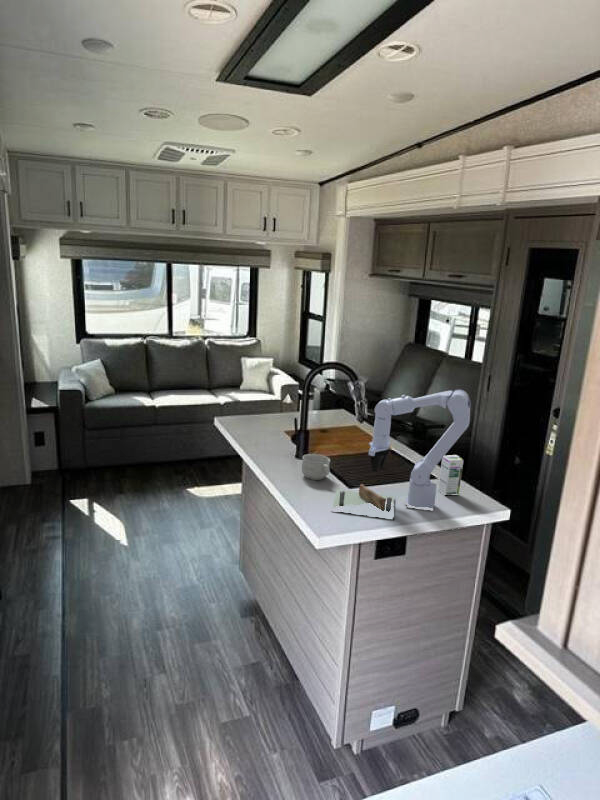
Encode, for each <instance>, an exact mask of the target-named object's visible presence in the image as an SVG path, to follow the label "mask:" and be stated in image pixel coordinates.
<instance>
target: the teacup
mask: <svg viewBox="0 0 600 800" xmlns="http://www.w3.org/2000/svg"><path fill="white" fill-rule="evenodd" d="M301 460H302V461H301V472H302V474H303V475H304V476H305V477H306V479H310V480H314V481H320V480H323V479H324V478H326V477H327V476H328V475H329V474H330V471H331V470H330V469H331V468H330V464H331V458H329V457H328V456H326V455H322V454H316V453H308V454H304V455H302V459H301Z"/></svg>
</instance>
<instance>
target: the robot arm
mask: <svg viewBox="0 0 600 800" xmlns="http://www.w3.org/2000/svg"><path fill="white" fill-rule="evenodd" d="M430 406H440V407H442V408H444V409H446V408H448V410H449V412H450V413H451V414H452V419H453V422H452V423H451V425H449V427H448V428H447V430H445V432H444V433H443V434H442V436H441V437H440V438H439V439H438V440H437V441H436V443H435V444H434V445H433V447H432V448H431V449H430V450H429V451H428V453H427V454H426V455H425V456H424V457H423V458H422V459H420V460H418V461H417V462H415V464H414V467H413V469H412V470H411V472H410V477H409V483H408V490H407V491H408V493H407V497H406V498H405V501H406V500H407V503H408V504H409V505H411V506H415V507H429V508H435V504H436V503H435V502H436V494H437V484H436V483H434V482H432V481H431V479H430V477H431V474H432V473H433V471H434V470H435V468H436V467H437V465H439V463H440V462H441V461H442V458H443V456H444V455H445V456H446V454H447V453H448V452H449V450H450V449H451V448H452V447H453V446H454V445H455V443H456V442H457V441H458V439H460V437H461V436H462V435H463V434H464V432H465V431H466V430H467V429H468V428H469V426H470V422H471V421H470V419H471V400H470V397H469V394H468V393H467V391H465V390H462V389H456V390H455V389H454V391H453V390H445V391H441V392H440V391H439V392H435V393H433V394H427V395H423V396H418V397H415V398H413V397H412V396H410V395H406V394H402V395H401V397H395V398H392V397H389V398H387V399H382V400H380V401H379V402H378V403H377V404H376V405H375V407H374V414H375V417H374V419H375V420H374V423H373V424H374V425H373V433H372V441H370V442H369V443H368V446H370V448H369V450H368V451H367V456H368V458H369V461H370V467H371V468H370V469H371V471H372V472H375V473H378V472H379V469H380V470H381V469H383V468H384V466H385V464H386V460H387V458H388V457H389V454H390V453H391V449H390V448H389V447H391V440H390V432H391V425H392V416H397V415H403V414H408V413H409V414H410V413H413V412H414V410H415V409H416V408H423V407H430Z"/></svg>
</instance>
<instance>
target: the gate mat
mask: <svg viewBox="0 0 600 800" xmlns="http://www.w3.org/2000/svg"><path fill="white" fill-rule="evenodd" d="M340 491H344V492H345V496H344V506H345V505H346V504H347V505H349V504H353V505H354V506H355V505H361V504H364V503H366V504H367V503H370V502H368V501H367V500H365V499H364V498H362V497H361V496H359V491H352V490H344V489H338V488H337V489H336V491H335V496H334V500H333V504H332V507H334V508H335V507H336V506H337V507H338V505H339V499H340ZM378 495H379V496H381V497H383V498H385V499H386V500H387V498H388V497H390V498H392V501H393V500H394V499H396V498H395V496H391V495H390V496H388V495H383V494H382V495H381V494H378ZM349 506H350V505H349ZM351 506H352V505H351ZM339 507H340V506H339ZM346 507H347V506H346Z"/></svg>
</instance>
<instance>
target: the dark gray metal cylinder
mask: <svg viewBox="0 0 600 800" xmlns="http://www.w3.org/2000/svg"><path fill="white" fill-rule="evenodd" d="M344 496H345V492H344V491H340V499H339V506H344ZM390 497H391V496H390ZM390 497H388V498H387V504H386V511H388V512H389V511H390V510H391V502H392V498H390Z"/></svg>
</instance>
